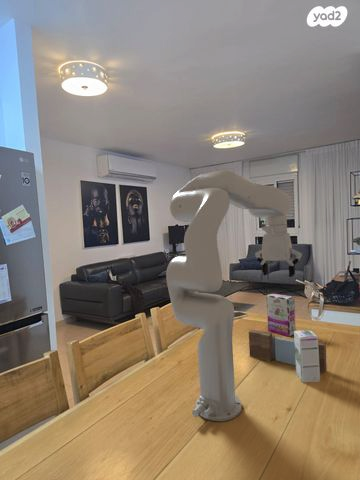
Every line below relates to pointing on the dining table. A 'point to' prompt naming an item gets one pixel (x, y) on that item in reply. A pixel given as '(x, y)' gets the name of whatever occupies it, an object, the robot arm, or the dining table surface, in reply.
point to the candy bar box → (281, 314)
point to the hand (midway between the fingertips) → (278, 275)
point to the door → (283, 350)
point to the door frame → (264, 350)
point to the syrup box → (307, 356)
